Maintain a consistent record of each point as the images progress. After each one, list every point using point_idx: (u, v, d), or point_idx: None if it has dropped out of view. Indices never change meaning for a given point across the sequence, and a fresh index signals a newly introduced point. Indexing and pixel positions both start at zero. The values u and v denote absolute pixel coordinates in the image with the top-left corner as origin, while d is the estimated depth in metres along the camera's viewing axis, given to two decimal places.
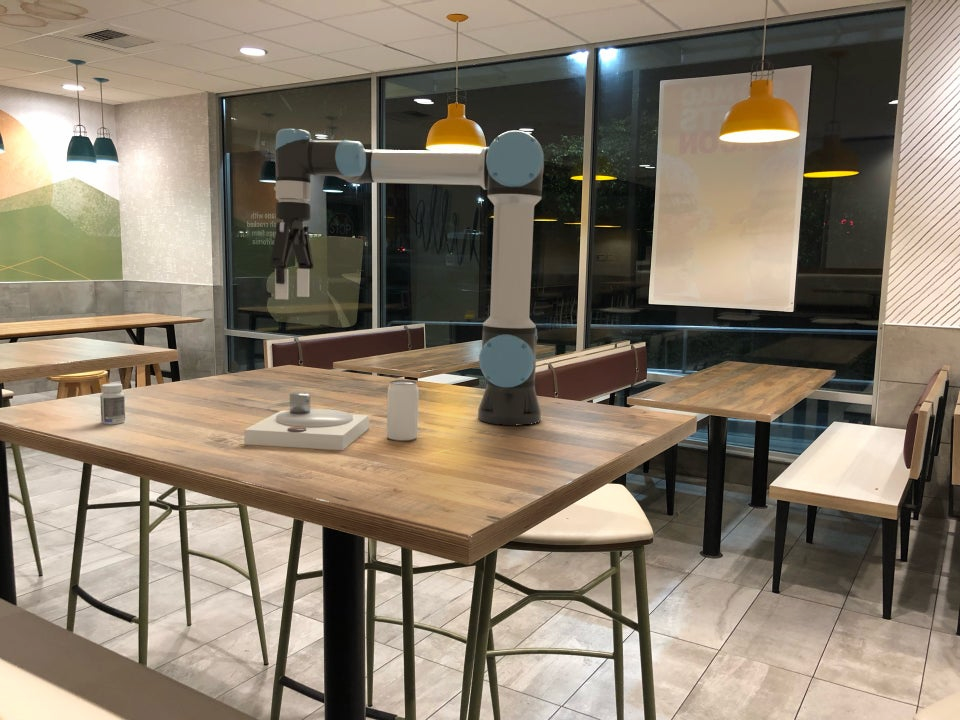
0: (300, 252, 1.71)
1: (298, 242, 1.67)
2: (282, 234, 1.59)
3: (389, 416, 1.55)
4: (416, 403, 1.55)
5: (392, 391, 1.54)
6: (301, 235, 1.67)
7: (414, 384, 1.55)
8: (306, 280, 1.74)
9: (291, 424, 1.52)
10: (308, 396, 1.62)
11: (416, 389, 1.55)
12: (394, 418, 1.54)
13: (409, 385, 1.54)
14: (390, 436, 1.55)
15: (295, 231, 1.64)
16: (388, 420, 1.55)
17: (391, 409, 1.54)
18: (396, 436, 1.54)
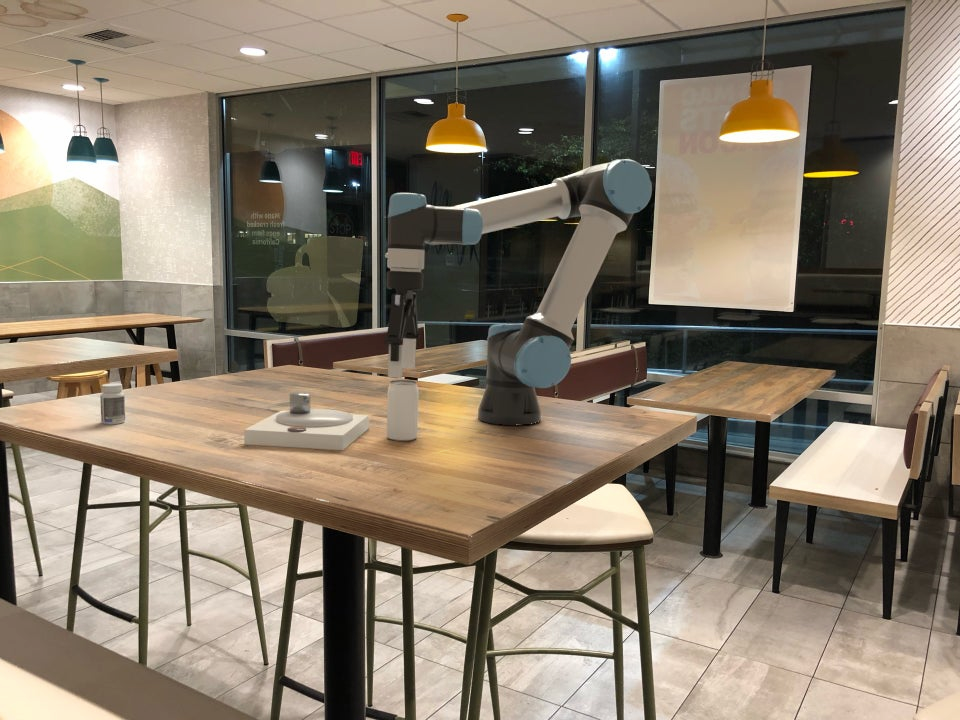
0: (408, 322, 1.59)
1: (409, 313, 1.54)
2: (398, 308, 1.47)
3: (389, 416, 1.55)
4: (416, 403, 1.55)
5: (392, 391, 1.54)
6: (412, 305, 1.55)
7: (414, 384, 1.55)
8: (412, 351, 1.61)
9: (291, 424, 1.52)
10: (308, 396, 1.62)
11: (416, 389, 1.55)
12: (394, 418, 1.54)
13: (409, 385, 1.54)
14: (390, 436, 1.55)
15: (408, 302, 1.52)
16: (388, 420, 1.55)
17: (391, 409, 1.54)
18: (396, 436, 1.54)
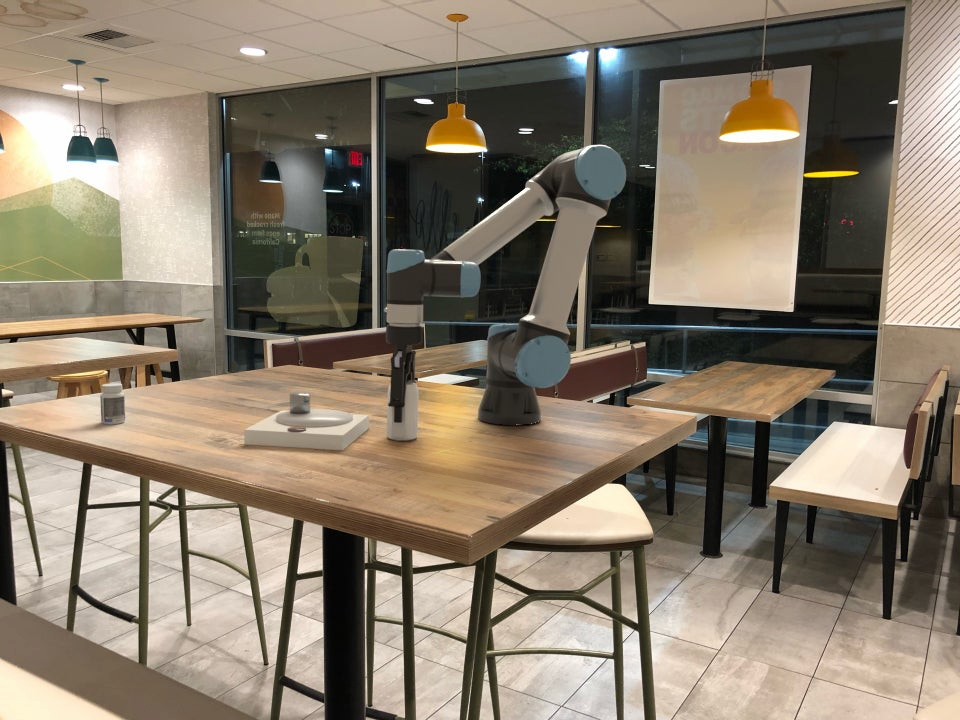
0: (406, 379, 1.58)
1: None
2: (398, 370, 1.49)
3: (389, 416, 1.55)
4: (416, 403, 1.55)
5: None
6: (411, 358, 1.56)
7: (414, 384, 1.55)
8: None
9: (291, 424, 1.52)
10: (308, 396, 1.62)
11: (416, 389, 1.55)
12: None
13: (409, 385, 1.54)
14: (390, 436, 1.55)
15: (408, 358, 1.53)
16: (388, 420, 1.55)
17: (391, 409, 1.54)
18: None
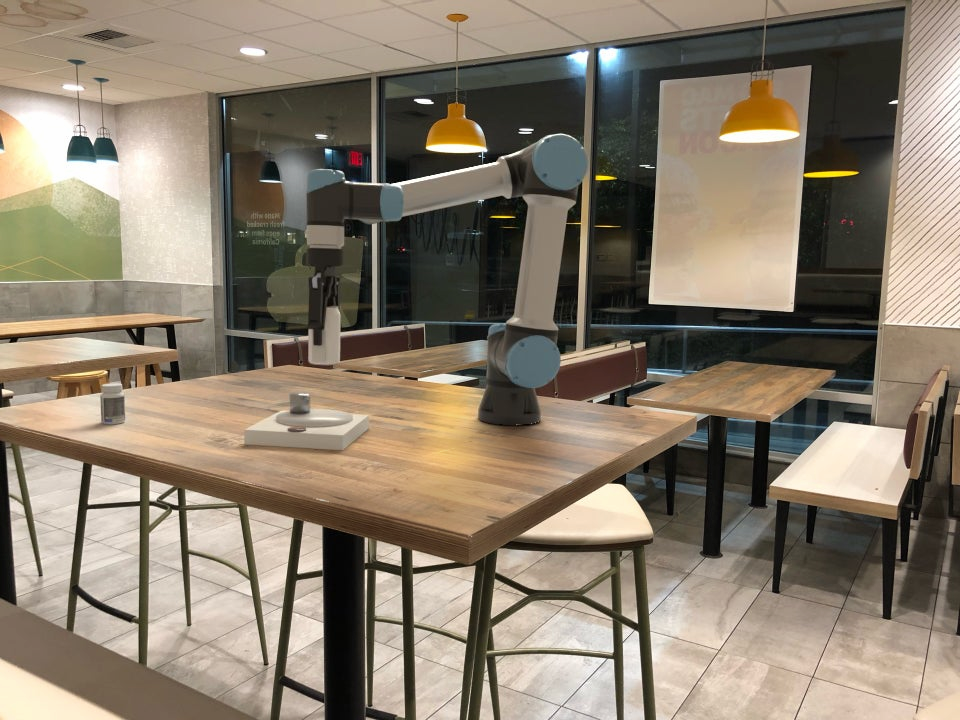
0: (329, 304, 1.56)
1: (330, 290, 1.54)
2: (316, 291, 1.47)
3: (309, 340, 1.53)
4: (337, 327, 1.53)
5: None
6: (333, 282, 1.54)
7: (335, 308, 1.53)
8: None
9: (291, 424, 1.52)
10: (308, 396, 1.62)
11: (337, 313, 1.53)
12: None
13: (329, 308, 1.52)
14: (311, 360, 1.53)
15: (328, 281, 1.51)
16: (309, 344, 1.53)
17: (311, 333, 1.52)
18: None
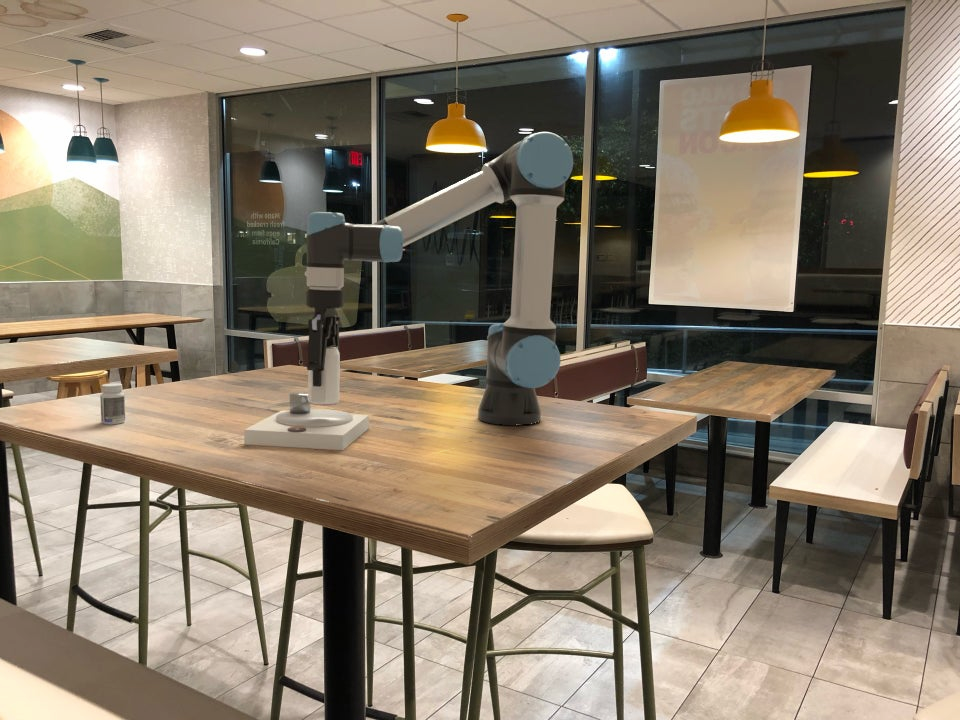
0: (329, 344, 1.58)
1: (330, 331, 1.55)
2: (316, 333, 1.49)
3: (309, 381, 1.54)
4: (337, 367, 1.55)
5: None
6: (333, 323, 1.55)
7: (334, 348, 1.54)
8: None
9: (291, 424, 1.52)
10: None
11: (337, 353, 1.54)
12: None
13: (329, 349, 1.53)
14: (310, 400, 1.54)
15: (327, 322, 1.52)
16: (308, 384, 1.55)
17: (311, 373, 1.53)
18: None
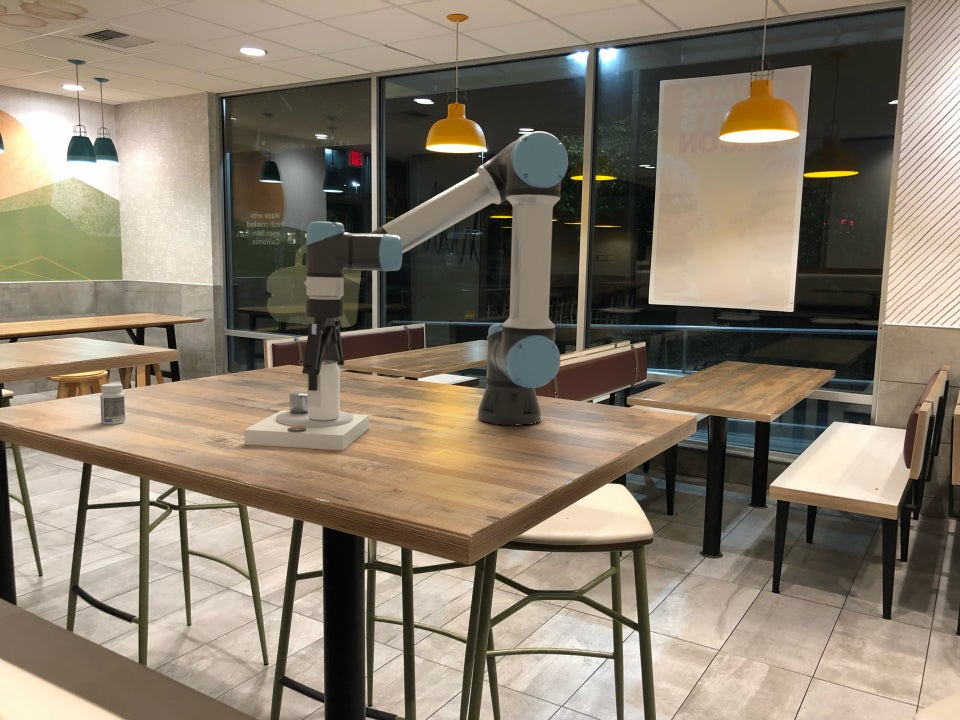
0: (331, 349, 1.59)
1: (330, 340, 1.55)
2: (314, 337, 1.48)
3: None
4: (337, 383, 1.55)
5: None
6: (333, 332, 1.56)
7: (334, 364, 1.54)
8: None
9: (291, 424, 1.52)
10: None
11: (336, 369, 1.55)
12: None
13: (329, 365, 1.53)
14: (311, 416, 1.55)
15: (327, 330, 1.53)
16: None
17: None
18: (316, 416, 1.54)
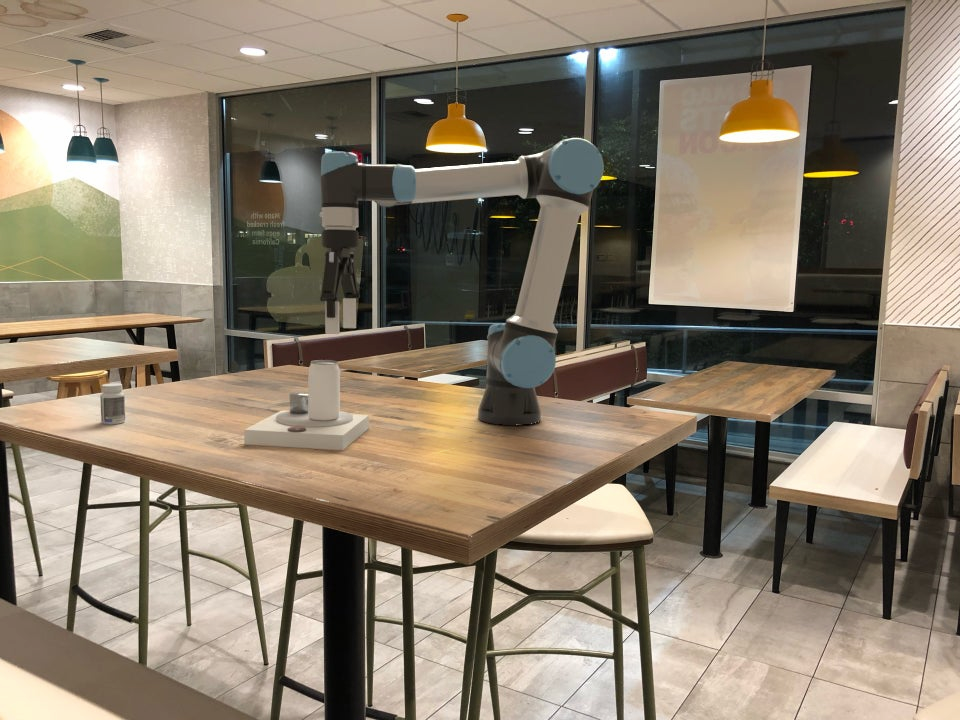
0: (347, 281, 1.61)
1: (346, 271, 1.57)
2: (332, 265, 1.49)
3: (309, 396, 1.55)
4: (337, 383, 1.55)
5: (312, 370, 1.53)
6: (349, 264, 1.57)
7: (334, 364, 1.54)
8: (353, 310, 1.64)
9: (291, 424, 1.52)
10: None
11: (336, 369, 1.55)
12: (314, 398, 1.54)
13: (329, 365, 1.53)
14: (311, 416, 1.55)
15: (344, 260, 1.54)
16: (309, 400, 1.55)
17: (311, 389, 1.54)
18: (316, 416, 1.54)
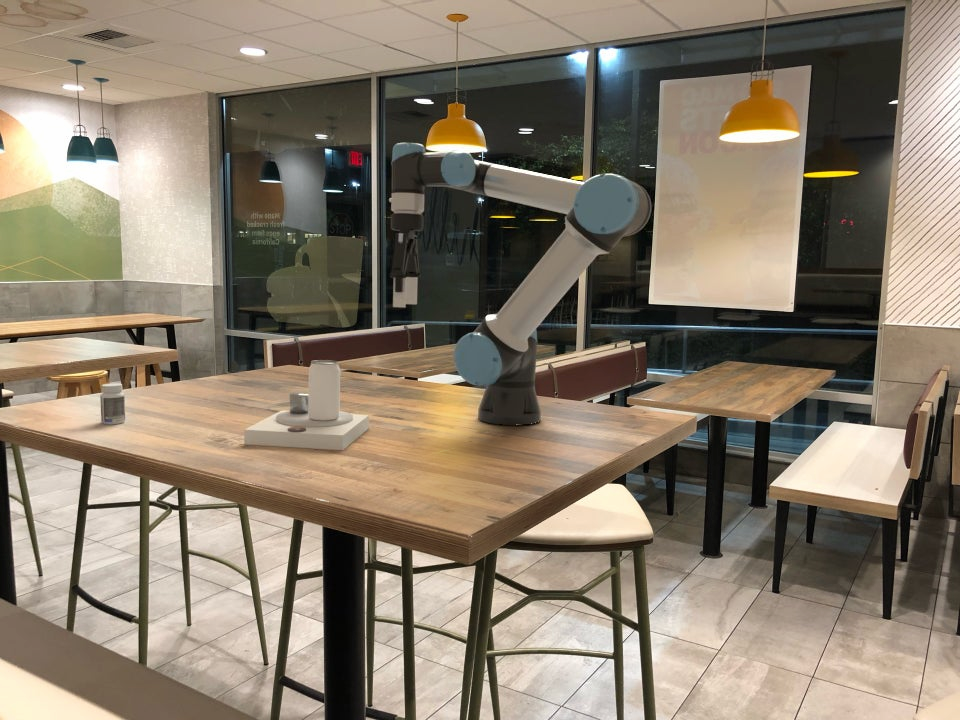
0: (411, 261, 1.77)
1: (411, 252, 1.73)
2: (401, 244, 1.65)
3: (309, 396, 1.55)
4: (337, 383, 1.55)
5: (312, 370, 1.53)
6: (414, 245, 1.73)
7: (335, 364, 1.54)
8: (414, 288, 1.80)
9: (291, 424, 1.52)
10: None
11: (337, 369, 1.55)
12: (314, 398, 1.54)
13: (329, 365, 1.53)
14: (311, 416, 1.55)
15: (410, 241, 1.70)
16: (309, 400, 1.55)
17: (311, 389, 1.54)
18: (316, 416, 1.54)
